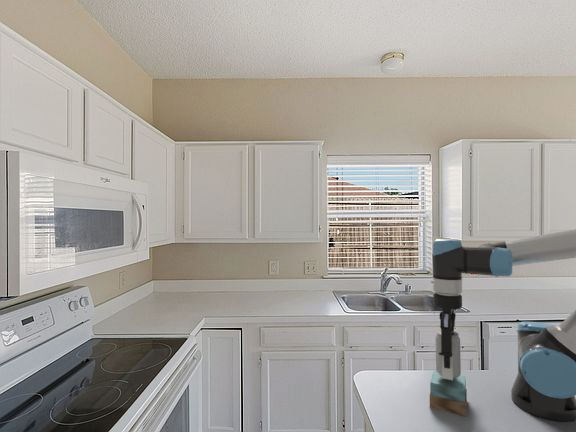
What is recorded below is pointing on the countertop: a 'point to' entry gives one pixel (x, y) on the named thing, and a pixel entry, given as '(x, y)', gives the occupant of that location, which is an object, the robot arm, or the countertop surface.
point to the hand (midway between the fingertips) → (448, 373)
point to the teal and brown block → (448, 394)
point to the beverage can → (454, 353)
